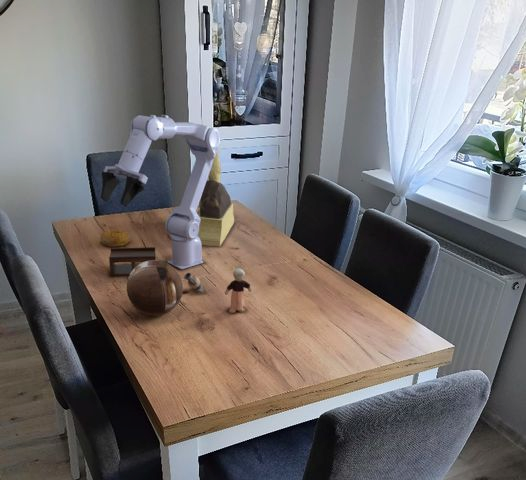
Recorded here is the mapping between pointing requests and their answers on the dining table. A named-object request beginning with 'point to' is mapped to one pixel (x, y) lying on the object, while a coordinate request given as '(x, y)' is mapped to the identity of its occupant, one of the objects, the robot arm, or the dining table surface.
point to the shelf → (129, 259)
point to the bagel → (115, 238)
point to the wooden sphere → (154, 287)
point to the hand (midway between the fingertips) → (113, 202)
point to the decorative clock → (214, 209)
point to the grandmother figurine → (237, 291)
